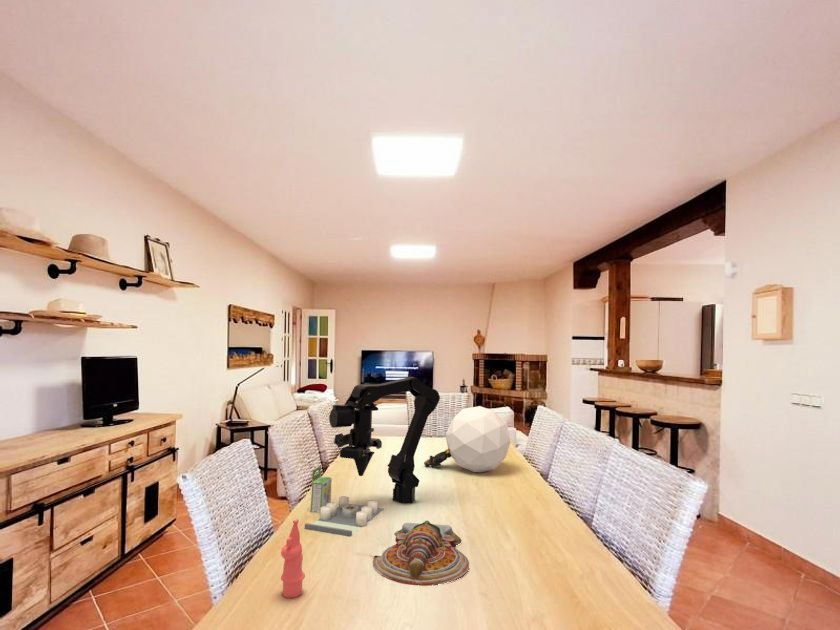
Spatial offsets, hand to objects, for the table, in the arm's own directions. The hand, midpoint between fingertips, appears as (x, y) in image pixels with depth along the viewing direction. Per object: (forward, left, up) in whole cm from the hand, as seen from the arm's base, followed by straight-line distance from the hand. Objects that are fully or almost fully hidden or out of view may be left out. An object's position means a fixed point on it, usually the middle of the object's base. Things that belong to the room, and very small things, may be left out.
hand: (360, 475), depth 151 cm
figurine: (-8, +50, -11) cm, 51 cm away
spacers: (0, +7, -10) cm, 12 cm away
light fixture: (-19, -66, -11) cm, 70 cm away
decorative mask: (-28, +22, -12) cm, 38 cm away
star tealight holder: (0, +7, -10) cm, 12 cm away
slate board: (0, +8, -11) cm, 14 cm away
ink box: (+11, +4, -12) cm, 17 cm away
